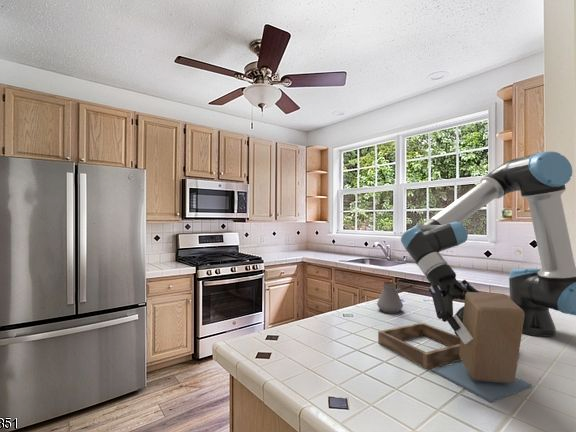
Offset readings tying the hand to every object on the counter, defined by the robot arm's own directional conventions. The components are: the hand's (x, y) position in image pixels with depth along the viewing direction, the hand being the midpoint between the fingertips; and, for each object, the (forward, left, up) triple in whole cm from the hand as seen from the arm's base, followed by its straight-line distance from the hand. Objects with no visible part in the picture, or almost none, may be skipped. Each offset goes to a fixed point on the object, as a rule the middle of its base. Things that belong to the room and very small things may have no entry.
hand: (487, 337), depth 79 cm
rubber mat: (0, -2, -12) cm, 12 cm away
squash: (-22, -18, -12) cm, 31 cm away
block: (-1, -2, -9) cm, 10 cm away
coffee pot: (-22, -55, -12) cm, 61 cm away
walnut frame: (-2, -22, -12) cm, 25 cm away
